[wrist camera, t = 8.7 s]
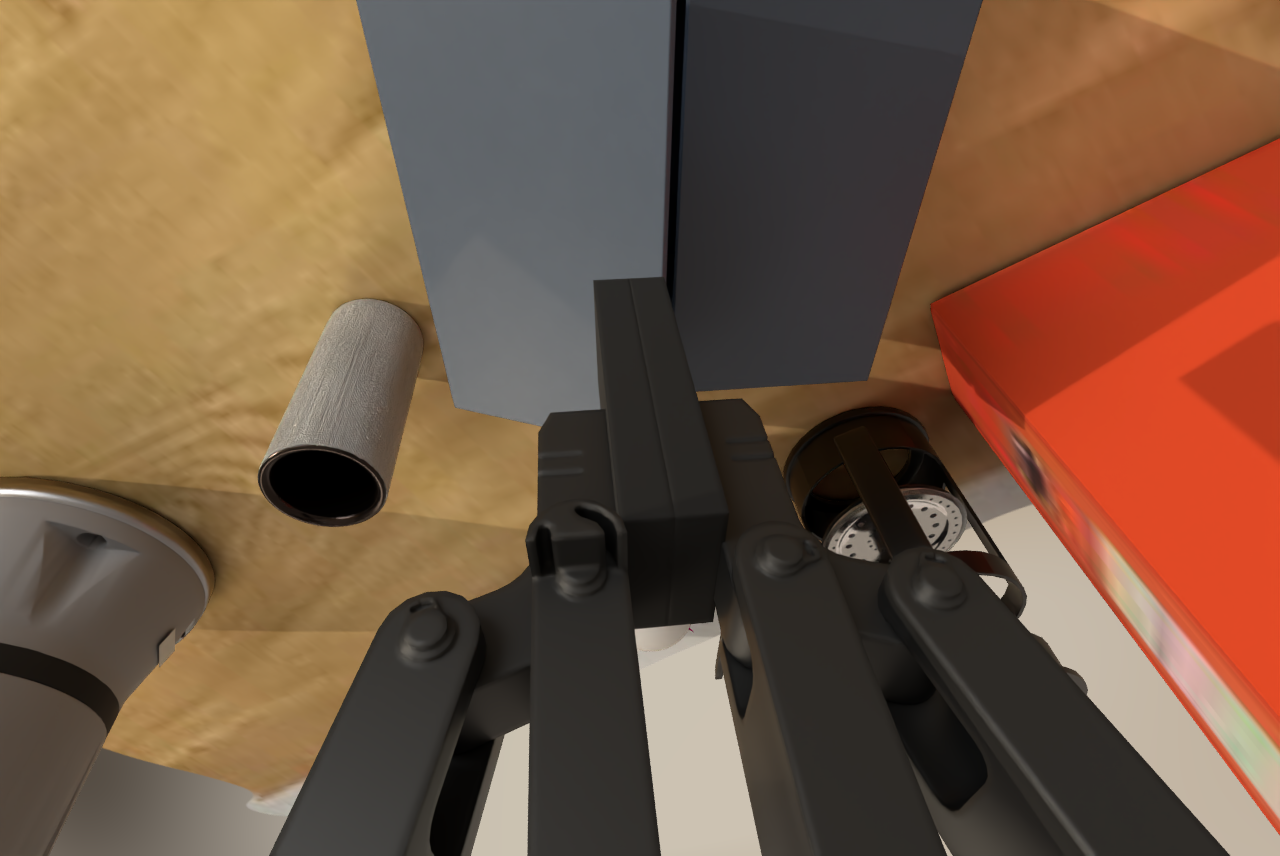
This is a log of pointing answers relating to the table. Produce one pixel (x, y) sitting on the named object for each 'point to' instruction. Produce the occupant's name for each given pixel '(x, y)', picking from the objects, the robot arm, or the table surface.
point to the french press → (891, 498)
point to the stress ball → (659, 637)
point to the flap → (527, 178)
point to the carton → (800, 177)
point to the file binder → (1154, 432)
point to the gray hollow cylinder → (345, 418)
